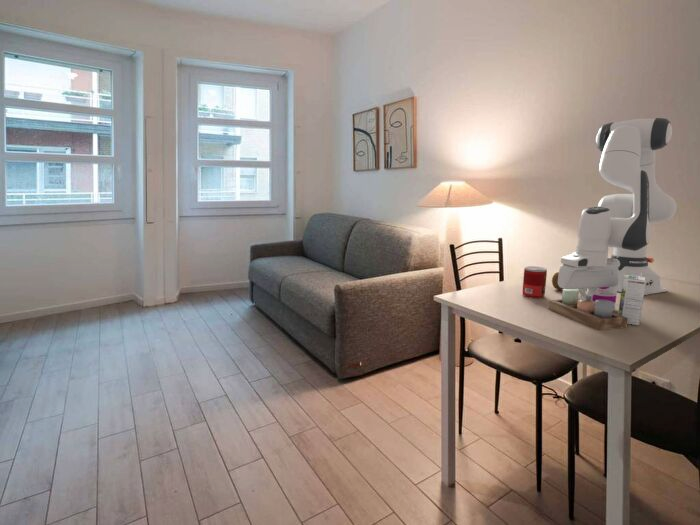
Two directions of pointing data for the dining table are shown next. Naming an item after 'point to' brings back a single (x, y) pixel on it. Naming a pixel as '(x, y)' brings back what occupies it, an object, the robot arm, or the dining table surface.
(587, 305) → the pink rounded cylinder
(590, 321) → the wooden tray
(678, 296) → the dining table surface
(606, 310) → the grey button
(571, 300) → the sage button
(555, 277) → the fruit
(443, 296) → the dining table surface
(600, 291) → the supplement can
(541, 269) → the canned food
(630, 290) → the syrup box
